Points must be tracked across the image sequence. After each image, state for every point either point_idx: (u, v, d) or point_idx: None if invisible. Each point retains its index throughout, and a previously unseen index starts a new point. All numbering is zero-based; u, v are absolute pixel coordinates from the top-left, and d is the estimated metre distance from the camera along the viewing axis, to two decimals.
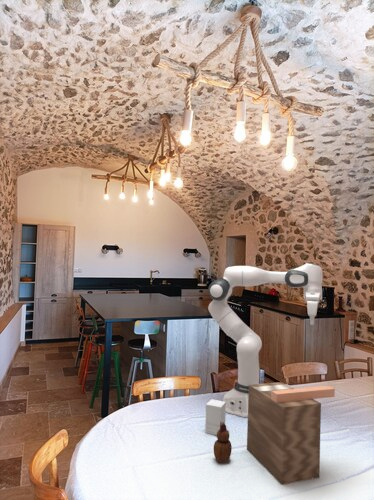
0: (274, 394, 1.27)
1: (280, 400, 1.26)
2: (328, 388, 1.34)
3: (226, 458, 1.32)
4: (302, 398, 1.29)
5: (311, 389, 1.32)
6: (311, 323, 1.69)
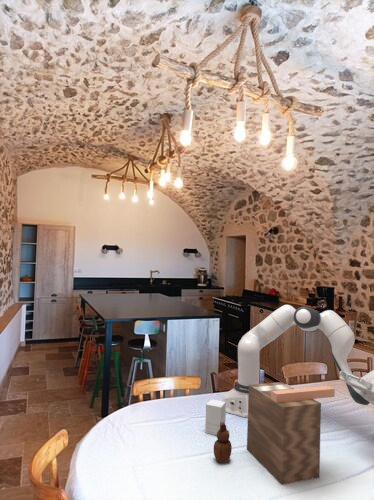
0: (274, 394, 1.27)
1: (280, 400, 1.26)
2: (328, 388, 1.34)
3: (226, 458, 1.32)
4: (302, 398, 1.29)
5: (311, 389, 1.32)
6: (362, 380, 1.34)
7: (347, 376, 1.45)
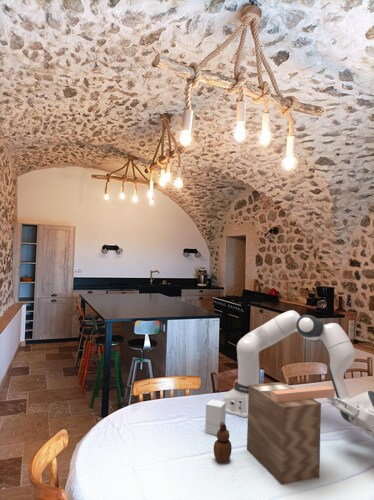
0: (274, 394, 1.27)
1: (280, 400, 1.26)
2: (328, 388, 1.34)
3: (226, 458, 1.32)
4: (302, 398, 1.29)
5: (311, 389, 1.32)
6: (349, 407, 1.32)
7: (335, 400, 1.43)
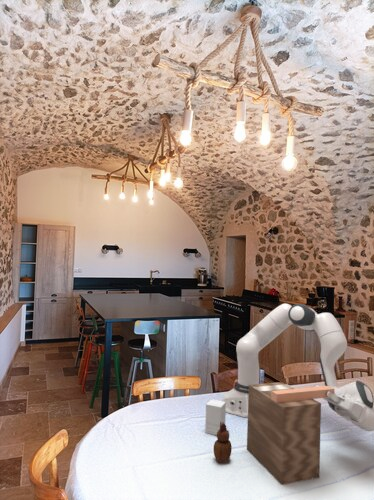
0: (274, 394, 1.27)
1: (280, 400, 1.26)
2: (328, 388, 1.35)
3: (226, 458, 1.32)
4: (302, 398, 1.29)
5: (311, 389, 1.32)
6: (329, 394, 1.32)
7: None
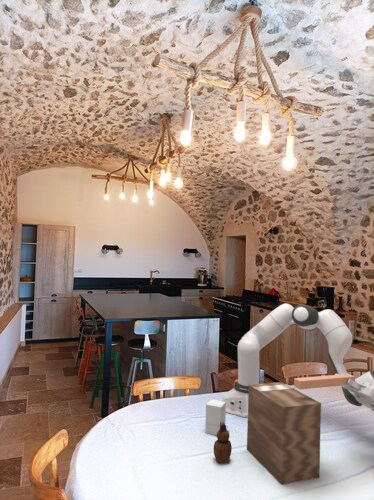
0: (297, 381, 1.30)
1: (303, 387, 1.30)
2: (348, 376, 1.38)
3: (226, 458, 1.32)
4: (324, 385, 1.33)
5: (332, 377, 1.36)
6: (350, 381, 1.35)
7: None
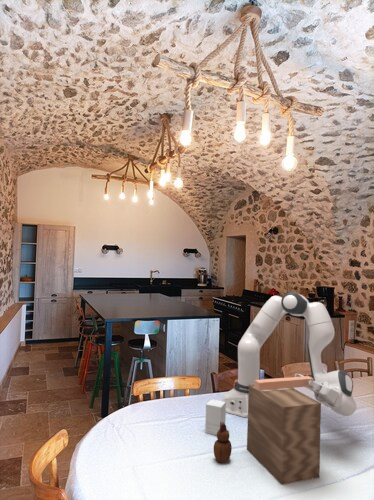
0: (257, 382, 1.38)
1: (262, 388, 1.37)
2: (307, 378, 1.46)
3: (226, 458, 1.32)
4: (283, 387, 1.41)
5: (292, 379, 1.44)
6: (311, 382, 1.42)
7: None
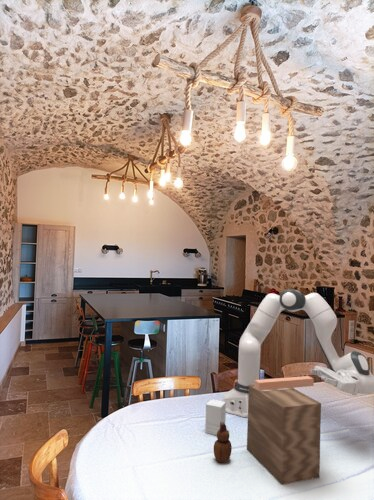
0: (257, 382, 1.38)
1: (262, 388, 1.37)
2: (307, 378, 1.46)
3: (226, 458, 1.32)
4: (283, 387, 1.41)
5: (292, 379, 1.44)
6: (327, 380, 1.45)
7: (318, 372, 1.57)
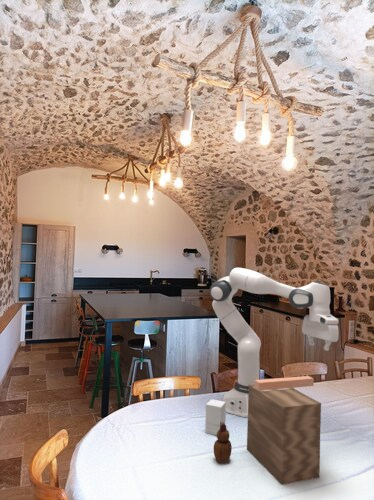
0: (257, 382, 1.38)
1: (262, 388, 1.37)
2: (307, 378, 1.46)
3: (226, 458, 1.32)
4: (283, 387, 1.41)
5: (292, 379, 1.44)
6: (326, 349, 1.55)
7: (311, 336, 1.65)
